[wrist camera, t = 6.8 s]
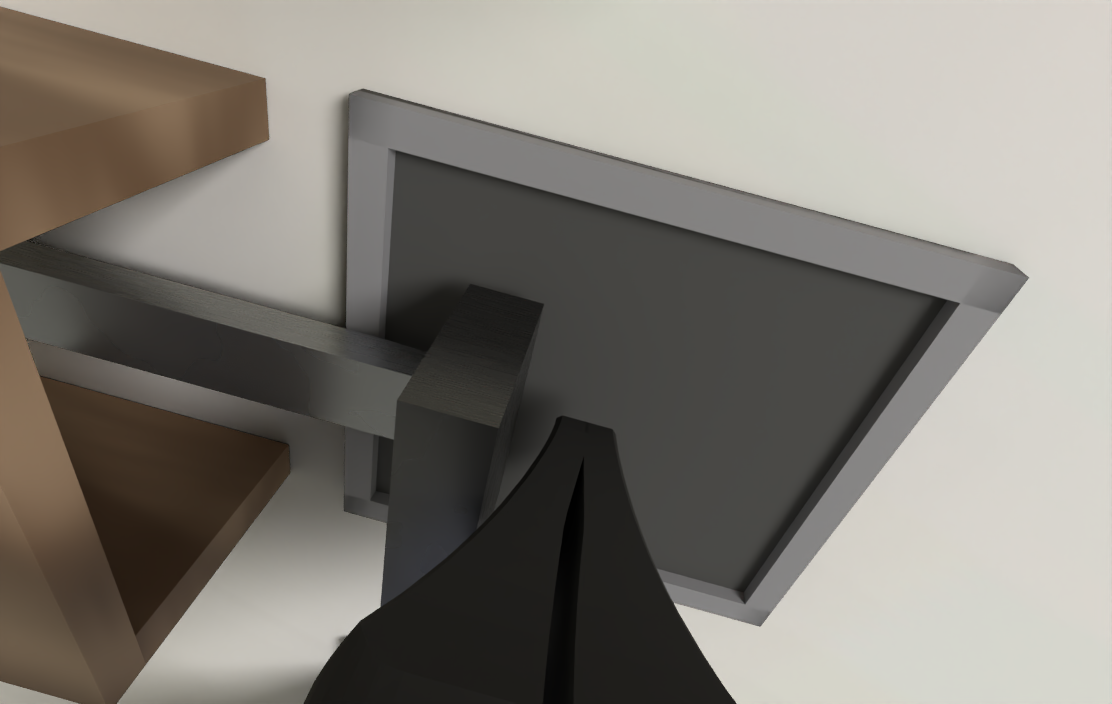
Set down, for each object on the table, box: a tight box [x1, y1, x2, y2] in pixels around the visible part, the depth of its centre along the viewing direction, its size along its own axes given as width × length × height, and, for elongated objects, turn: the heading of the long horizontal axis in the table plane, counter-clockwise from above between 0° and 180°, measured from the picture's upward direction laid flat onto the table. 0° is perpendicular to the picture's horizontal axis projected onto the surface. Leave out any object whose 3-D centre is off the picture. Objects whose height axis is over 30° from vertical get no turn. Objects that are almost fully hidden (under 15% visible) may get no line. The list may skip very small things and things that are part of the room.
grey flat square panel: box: [344, 89, 1029, 626], centre depth 14 cm, size 12×13×1 cm
